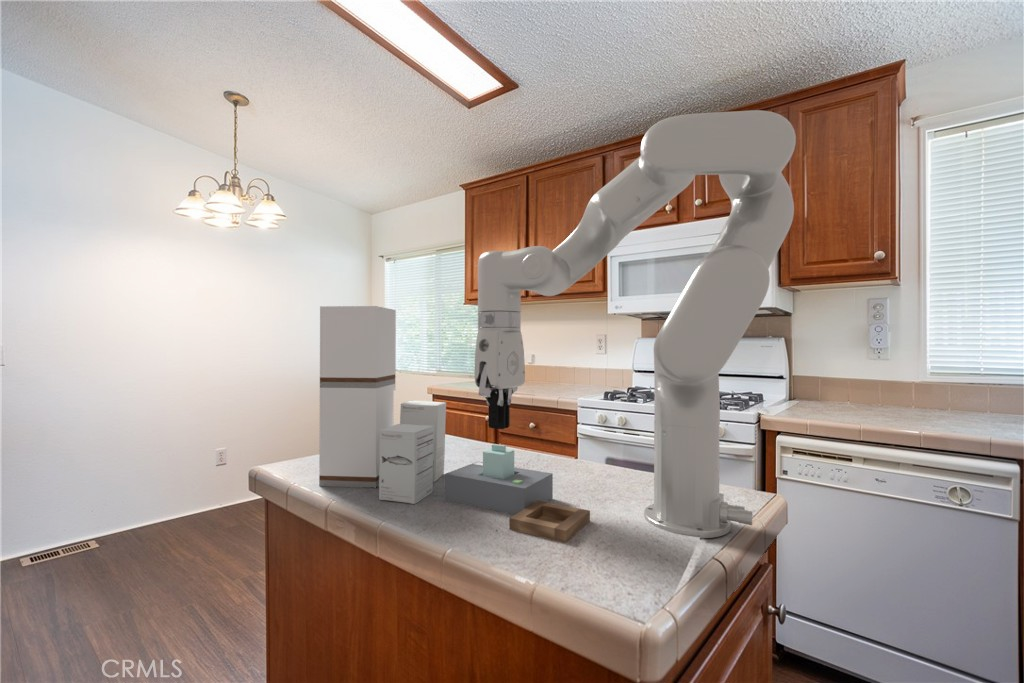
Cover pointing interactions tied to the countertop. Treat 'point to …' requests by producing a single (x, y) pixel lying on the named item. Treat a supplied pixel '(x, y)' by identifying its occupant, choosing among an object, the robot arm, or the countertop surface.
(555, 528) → the square wooden tray
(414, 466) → the supplement box
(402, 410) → the skincare box
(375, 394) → the white striped tall box
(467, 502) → the panel
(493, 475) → the plug
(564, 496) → the countertop surface
